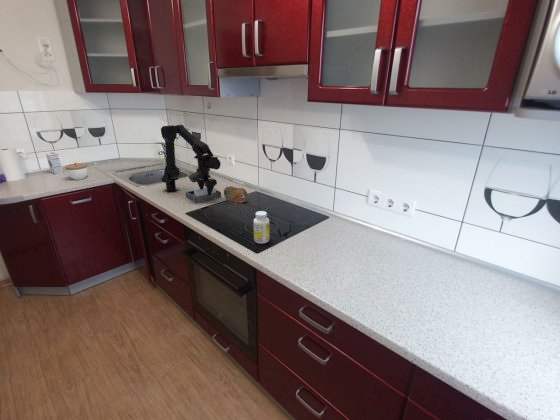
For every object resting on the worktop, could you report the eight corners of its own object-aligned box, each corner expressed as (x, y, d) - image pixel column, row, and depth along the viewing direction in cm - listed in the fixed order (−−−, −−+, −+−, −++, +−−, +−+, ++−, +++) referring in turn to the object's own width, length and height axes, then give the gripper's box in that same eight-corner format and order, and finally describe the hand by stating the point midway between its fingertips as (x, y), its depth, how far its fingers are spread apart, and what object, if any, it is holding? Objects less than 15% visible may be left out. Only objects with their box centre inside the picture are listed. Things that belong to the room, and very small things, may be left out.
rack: (186, 197, 176) (185, 191, 174) (210, 191, 186) (210, 185, 184) (195, 203, 167) (195, 197, 165) (221, 197, 176) (220, 191, 175)
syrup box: (63, 172, 219) (58, 152, 213) (54, 174, 214) (48, 154, 209) (59, 171, 222) (54, 151, 216) (50, 173, 217) (45, 153, 212)
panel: (194, 198, 171) (193, 190, 169) (213, 194, 179) (212, 186, 177) (197, 200, 169) (196, 192, 167) (216, 195, 176) (215, 187, 174)
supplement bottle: (266, 235, 133) (266, 209, 128) (271, 242, 127) (271, 215, 122) (252, 238, 130) (251, 211, 126) (256, 245, 125) (256, 217, 120)
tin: (223, 199, 174) (223, 185, 171) (227, 197, 176) (226, 184, 173) (245, 204, 167) (245, 190, 164) (248, 202, 170) (248, 188, 167)
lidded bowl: (74, 182, 199) (70, 165, 194) (64, 179, 205) (60, 163, 200) (93, 177, 209) (90, 162, 205) (83, 174, 215) (79, 159, 210)
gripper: (182, 165, 168) (185, 191, 174) (197, 172, 155) (200, 200, 161) (200, 162, 175) (202, 188, 181) (216, 169, 162) (218, 196, 168)
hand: (205, 193), depth 173 cm, fingers open, 9 cm apart
